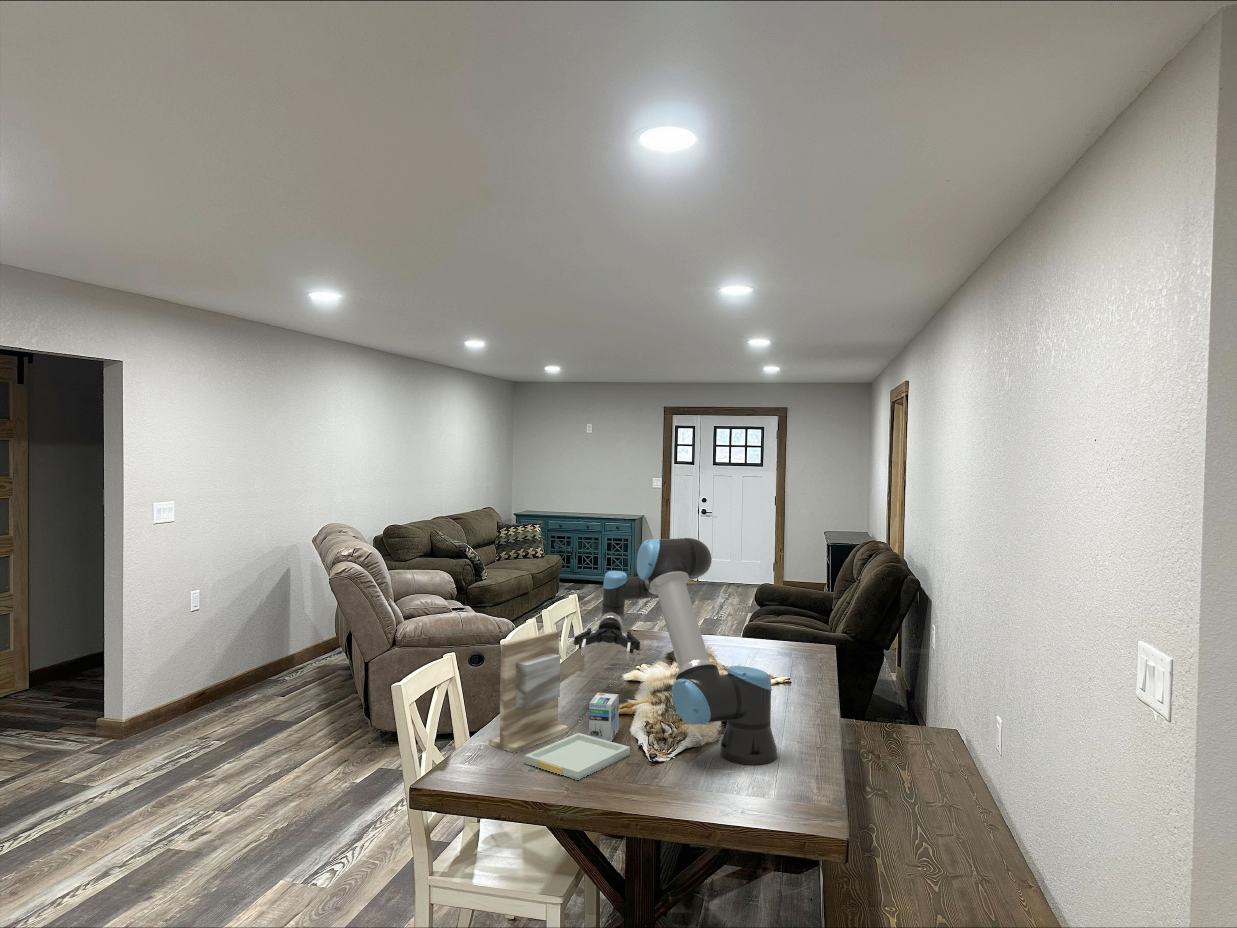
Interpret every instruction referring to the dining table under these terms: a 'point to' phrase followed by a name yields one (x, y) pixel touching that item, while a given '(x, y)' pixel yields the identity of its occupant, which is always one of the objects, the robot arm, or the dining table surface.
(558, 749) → the tray
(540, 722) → the wall unit
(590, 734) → the light bulb box
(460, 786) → the dining table surface
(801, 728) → the dining table surface
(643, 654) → the dining table surface
